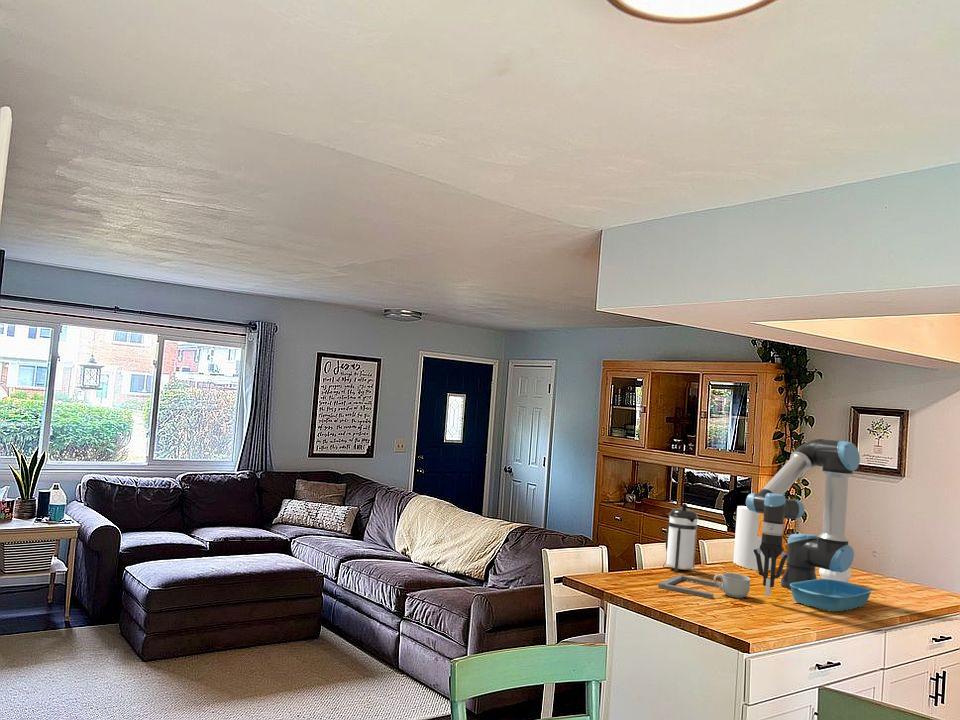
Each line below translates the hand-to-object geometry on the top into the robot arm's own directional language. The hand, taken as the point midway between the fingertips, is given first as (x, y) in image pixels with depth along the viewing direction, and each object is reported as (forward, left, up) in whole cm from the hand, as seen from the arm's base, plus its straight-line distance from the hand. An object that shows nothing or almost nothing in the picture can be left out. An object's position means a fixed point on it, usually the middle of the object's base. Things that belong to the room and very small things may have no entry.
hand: (767, 595), depth 302 cm
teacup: (+14, 0, -3) cm, 14 cm away
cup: (-14, -73, -3) cm, 75 cm away
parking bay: (+28, 0, -3) cm, 28 cm away
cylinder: (+23, -75, -3) cm, 79 cm away
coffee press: (+46, -32, -3) cm, 56 cm away
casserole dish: (-19, -22, -4) cm, 30 cm away
